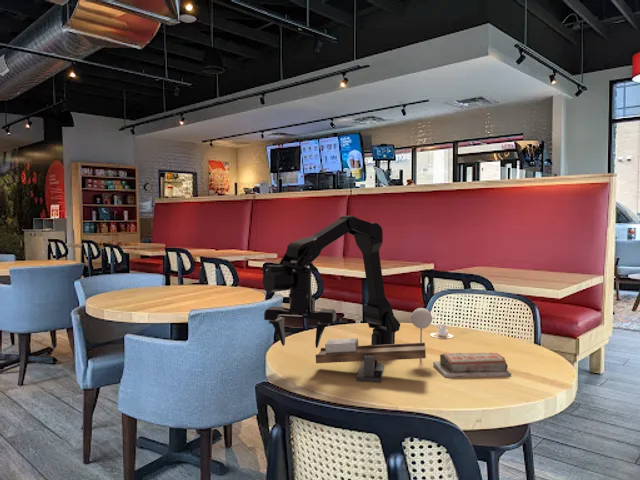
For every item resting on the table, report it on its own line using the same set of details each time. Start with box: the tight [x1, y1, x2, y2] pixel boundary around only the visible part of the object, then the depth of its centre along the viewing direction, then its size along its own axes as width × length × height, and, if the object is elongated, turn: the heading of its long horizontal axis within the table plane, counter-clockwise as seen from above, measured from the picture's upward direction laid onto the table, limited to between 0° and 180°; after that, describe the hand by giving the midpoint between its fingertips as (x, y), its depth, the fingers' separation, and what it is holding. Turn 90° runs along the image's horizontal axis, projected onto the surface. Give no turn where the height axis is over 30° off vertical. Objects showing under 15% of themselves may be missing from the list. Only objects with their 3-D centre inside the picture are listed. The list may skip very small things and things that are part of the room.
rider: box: [324, 337, 360, 354], centre depth 132 cm, size 8×5×3 cm, turn 79°
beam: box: [315, 342, 427, 364], centre depth 131 cm, size 28×8×2 cm, turn 79°
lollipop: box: [410, 307, 433, 361], centre depth 144 cm, size 6×6×15 cm
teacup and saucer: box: [429, 323, 454, 340], centre depth 173 cm, size 9×8×4 cm
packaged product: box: [432, 352, 512, 378], centre depth 134 cm, size 18×5×10 cm
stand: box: [356, 355, 385, 383], centre depth 131 cm, size 6×13×6 cm, turn 169°
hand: (300, 346), depth 134 cm, fingers open, 9 cm apart
